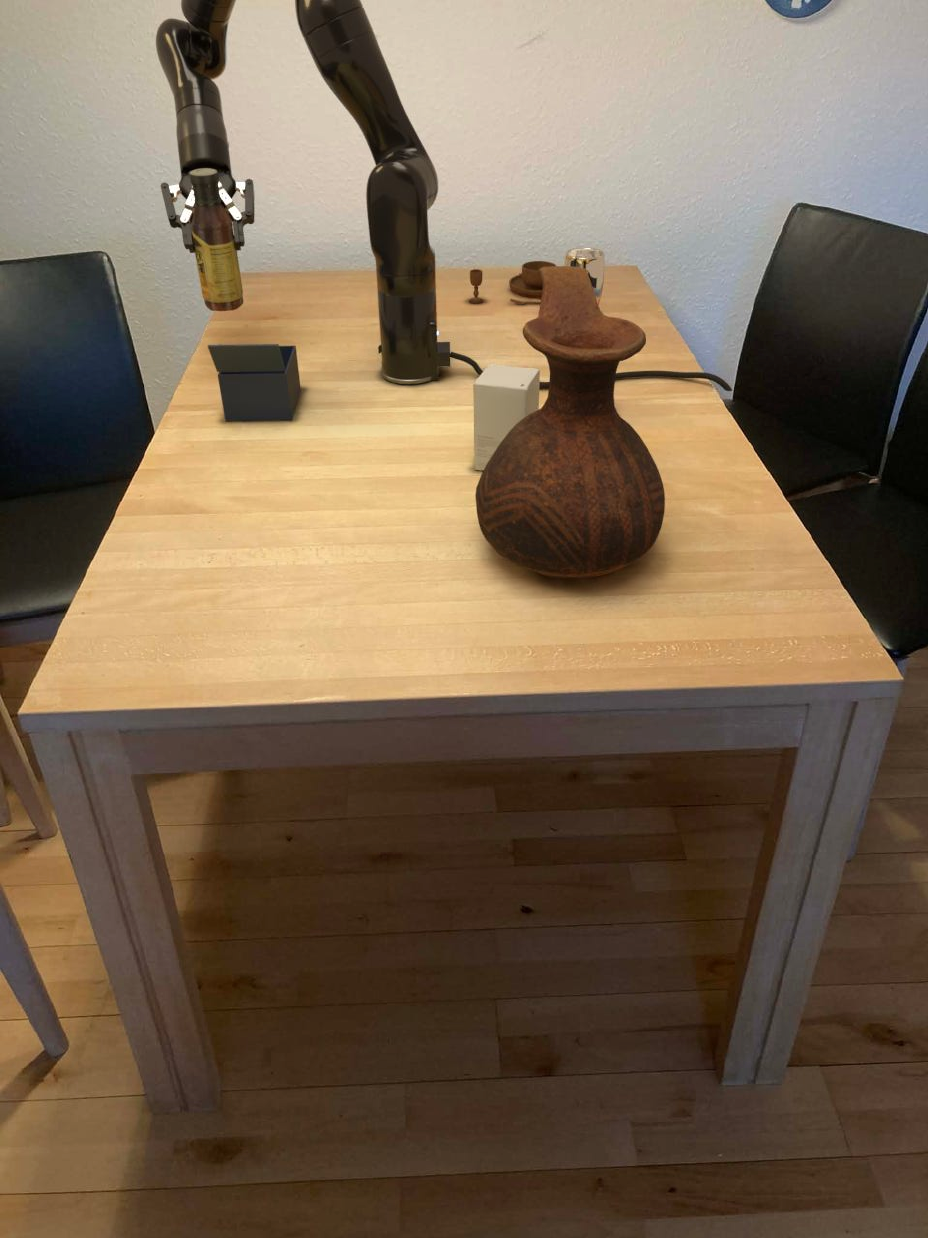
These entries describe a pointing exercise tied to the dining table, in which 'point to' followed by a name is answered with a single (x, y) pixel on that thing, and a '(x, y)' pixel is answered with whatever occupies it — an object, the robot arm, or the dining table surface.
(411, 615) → the dining table surface
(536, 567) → the jug
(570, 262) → the beer glass
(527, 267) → the place setting
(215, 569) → the dining table surface
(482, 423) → the white packaging box
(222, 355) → the flap
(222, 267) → the sauce bottle
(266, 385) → the carton
